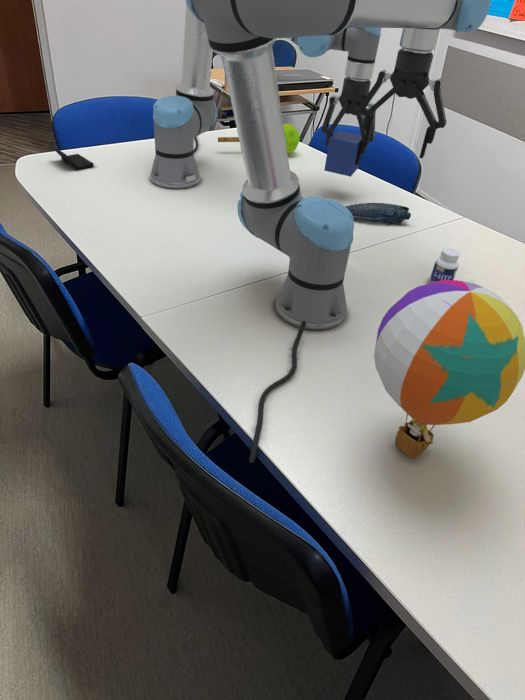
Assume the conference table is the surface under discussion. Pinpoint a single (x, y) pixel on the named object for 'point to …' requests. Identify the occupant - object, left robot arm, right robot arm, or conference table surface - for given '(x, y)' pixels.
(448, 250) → the pill bottle
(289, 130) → the decorative tree
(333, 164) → the block
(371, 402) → the conference table surface
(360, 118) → the left robot arm
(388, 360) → the toy
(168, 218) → the conference table surface
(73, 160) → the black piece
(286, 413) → the conference table surface
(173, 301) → the conference table surface
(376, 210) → the fish model
